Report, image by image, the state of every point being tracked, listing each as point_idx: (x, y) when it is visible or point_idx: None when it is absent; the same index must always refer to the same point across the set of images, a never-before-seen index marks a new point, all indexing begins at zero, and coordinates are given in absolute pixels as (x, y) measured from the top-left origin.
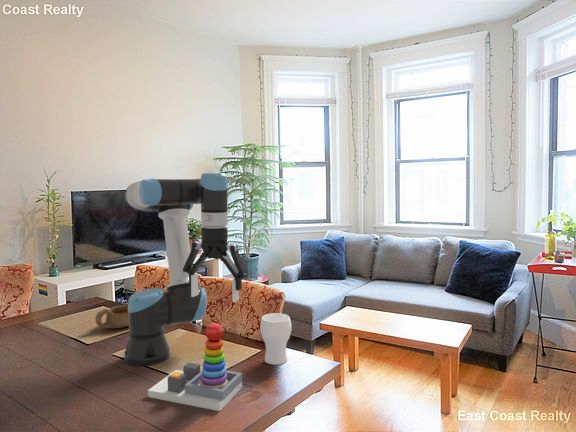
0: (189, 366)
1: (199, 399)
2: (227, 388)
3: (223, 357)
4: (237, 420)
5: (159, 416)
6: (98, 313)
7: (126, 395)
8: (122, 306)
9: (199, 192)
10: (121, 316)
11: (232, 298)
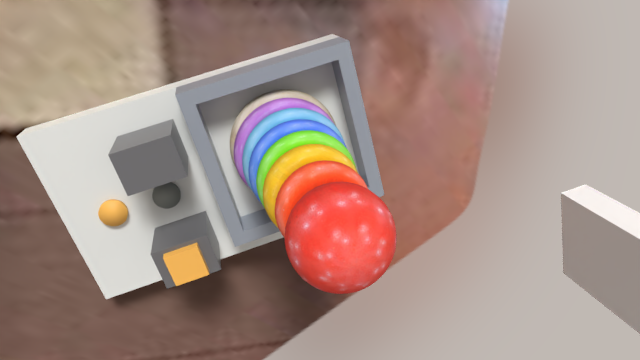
0: (149, 178)
1: None
2: (376, 163)
3: (355, 166)
4: (443, 194)
5: (246, 315)
6: None
7: (39, 324)
8: None
9: None
10: None
11: (590, 292)
